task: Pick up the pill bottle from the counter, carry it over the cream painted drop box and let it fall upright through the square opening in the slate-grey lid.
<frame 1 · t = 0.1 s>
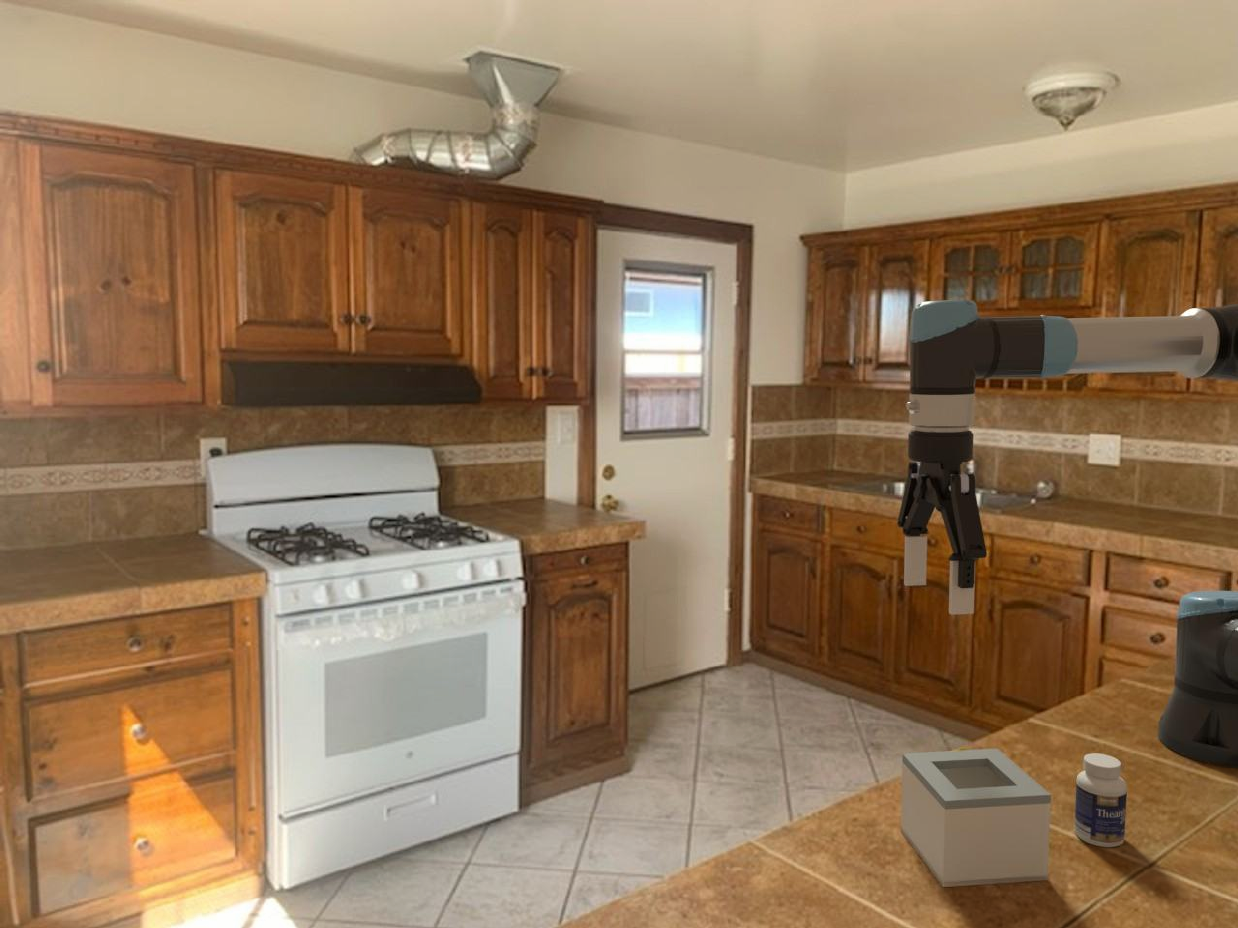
hand: (936, 598, 115), 28 cm above the countertop, fingers open, 13 cm apart
lemon: (961, 808, 119), on the countertop
pill bottle: (1098, 838, 111), on the countertop
drop box: (970, 854, 108), on the countertop
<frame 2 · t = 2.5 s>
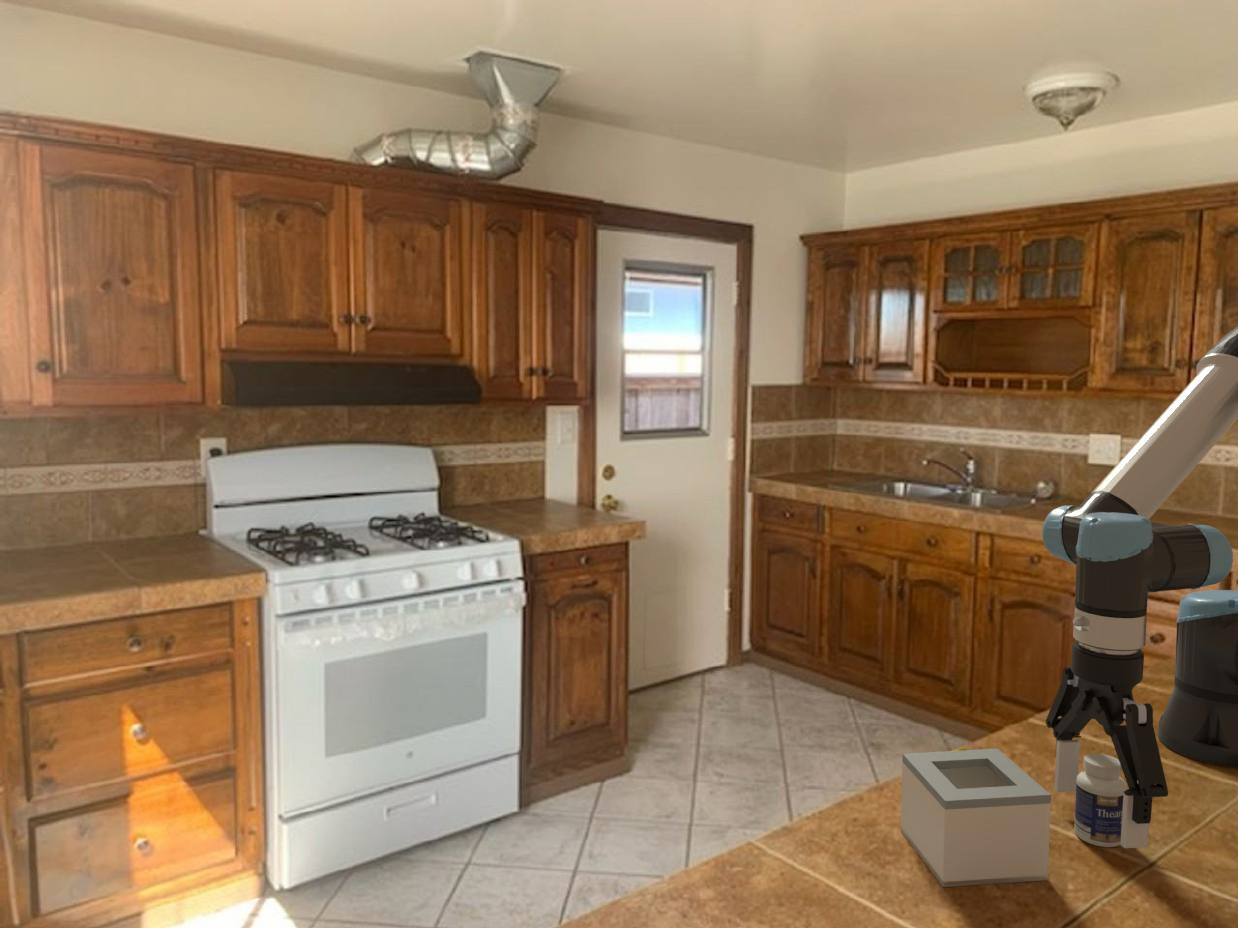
hand: (1097, 816, 111), 3 cm above the countertop, fingers open, 13 cm apart
nothing on the countertop moved.
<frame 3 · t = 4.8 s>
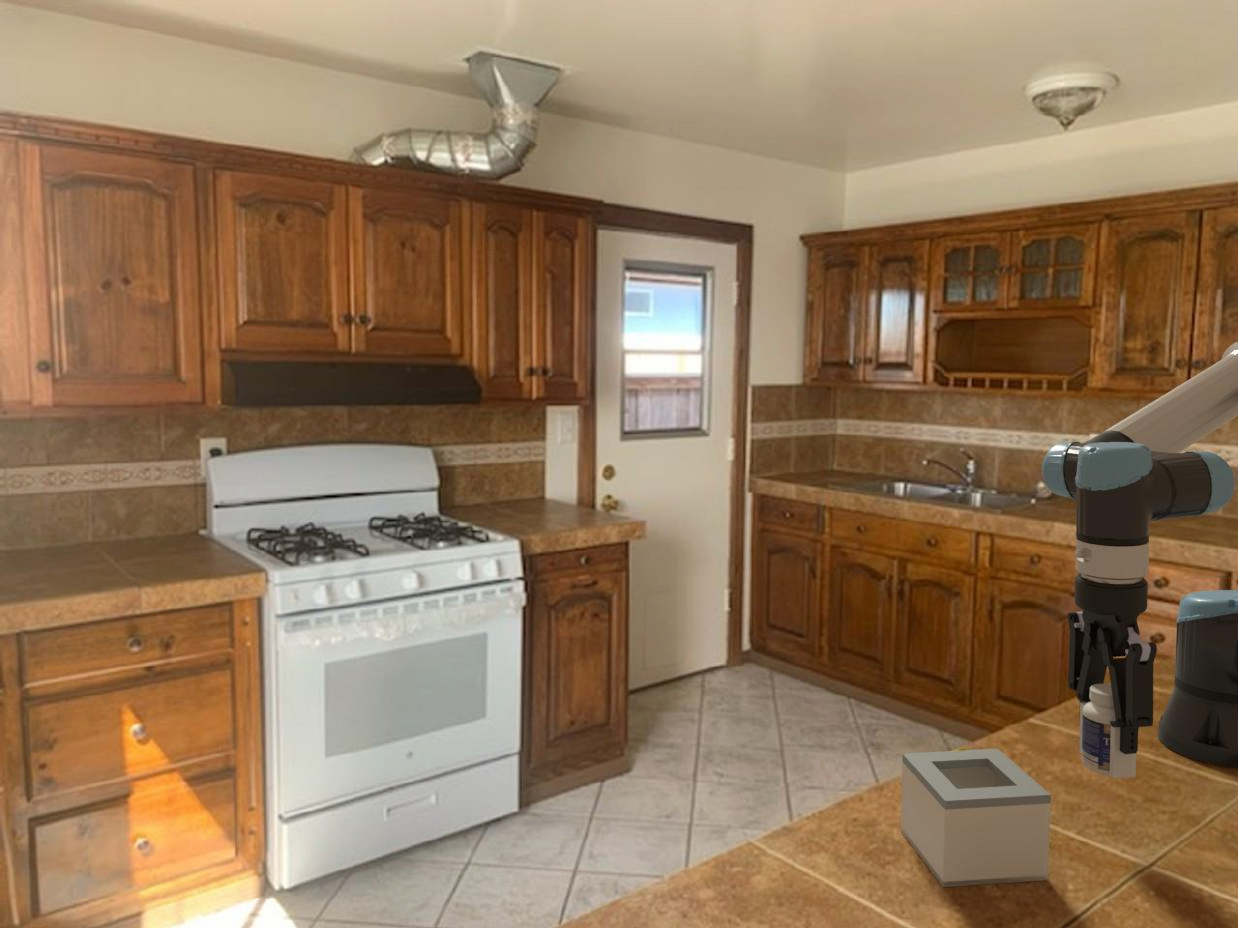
hand: (1106, 764, 110), 9 cm above the countertop, fingers closed on pill bottle, 5 cm apart
pill bottle: (1106, 768, 110), point 8 cm above the countertop, touching gripper
everything else where it was.
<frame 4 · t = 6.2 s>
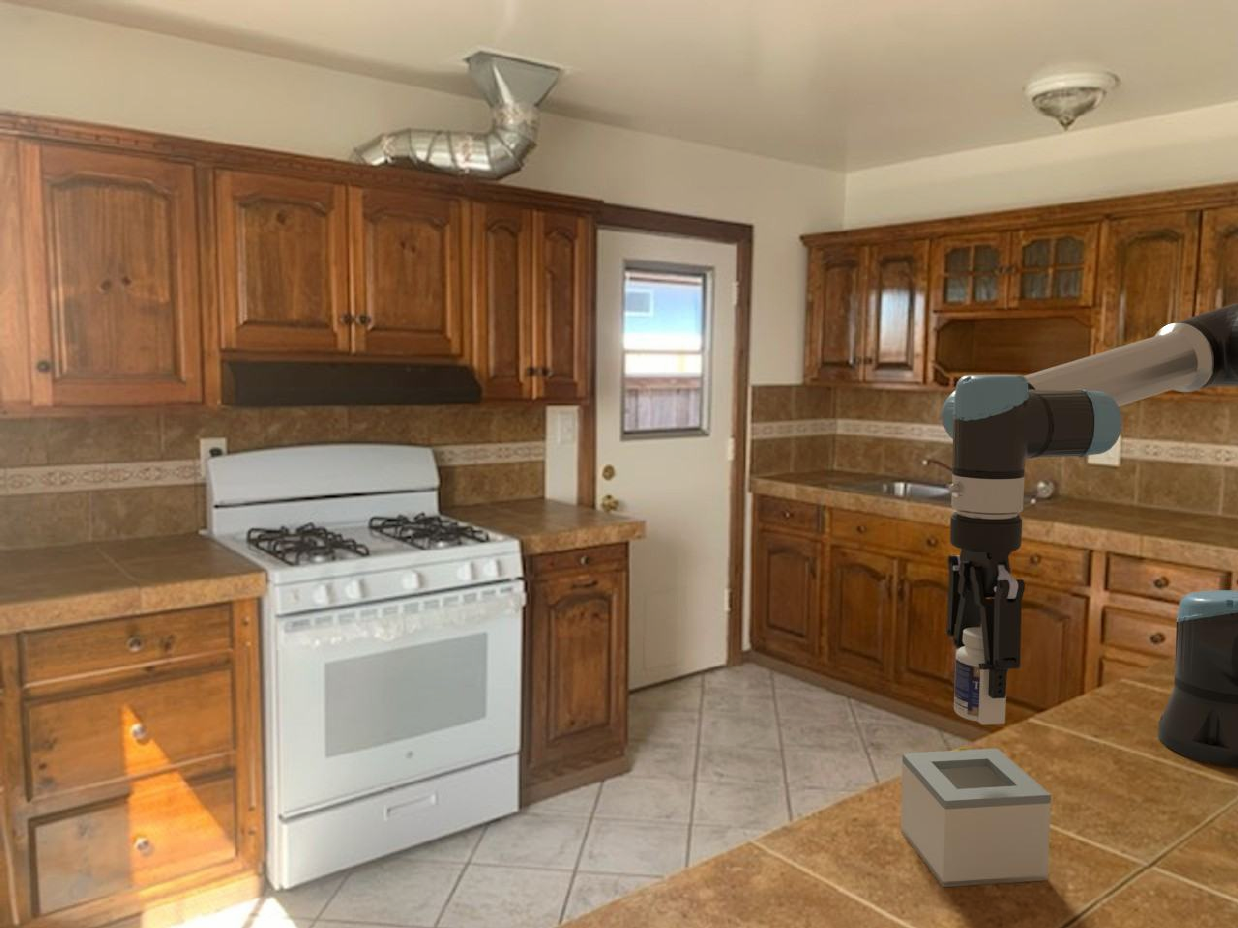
hand: (978, 711, 106), 17 cm above the countertop, fingers closed on pill bottle, 5 cm apart
pill bottle: (978, 716, 106), point 17 cm above the countertop, touching gripper
everything else where it was.
when the fingers open (11 cm above the countertop, at t = 7.8 s): pill bottle drops 10 cm, resting on drop box.
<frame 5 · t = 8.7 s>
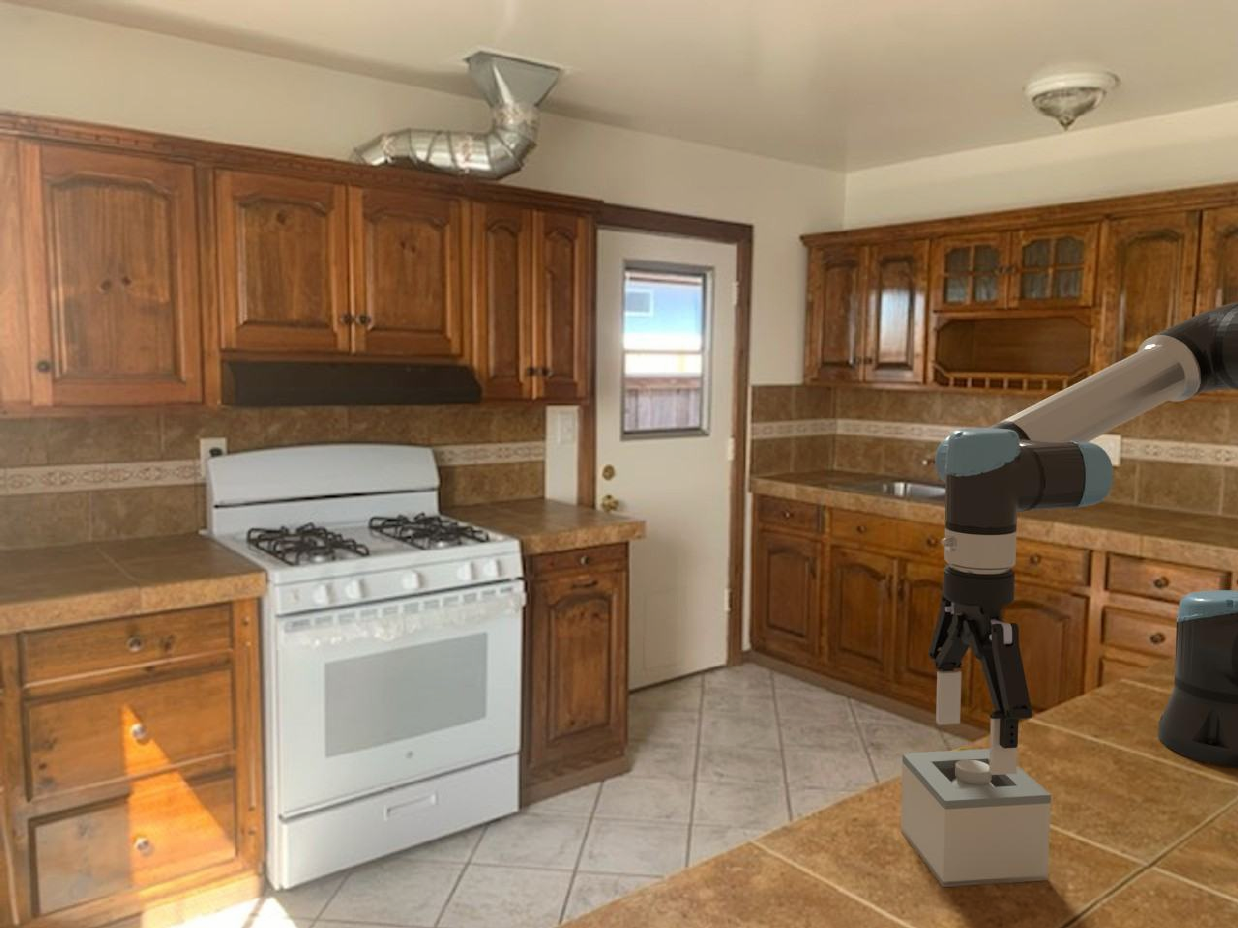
hand: (973, 746, 106), 13 cm above the countertop, fingers open, 13 cm apart
pill bottle: (972, 848, 108), point 1 cm above the countertop, touching drop box
everything else where it was.
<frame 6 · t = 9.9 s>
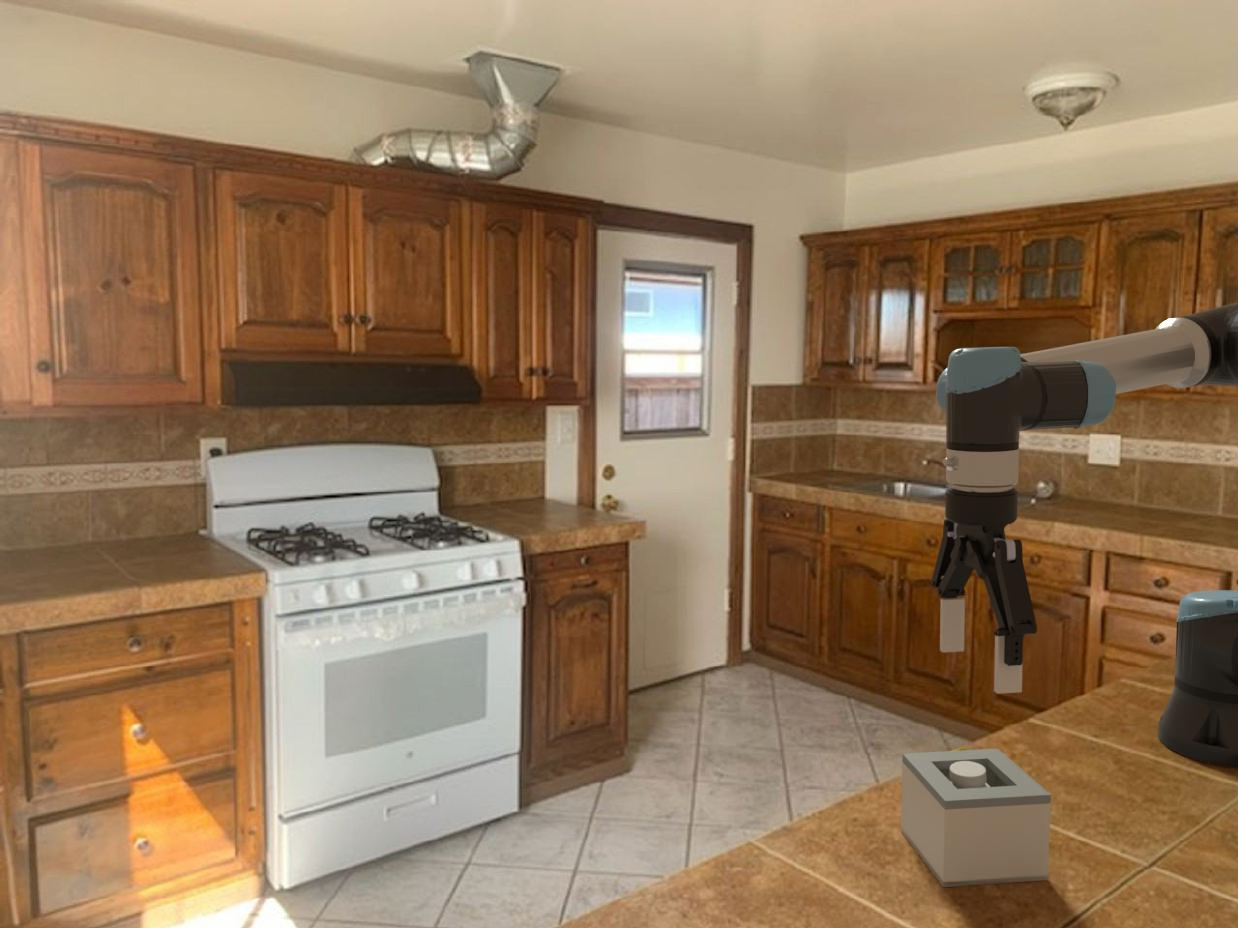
hand: (978, 670, 105), 22 cm above the countertop, fingers open, 13 cm apart
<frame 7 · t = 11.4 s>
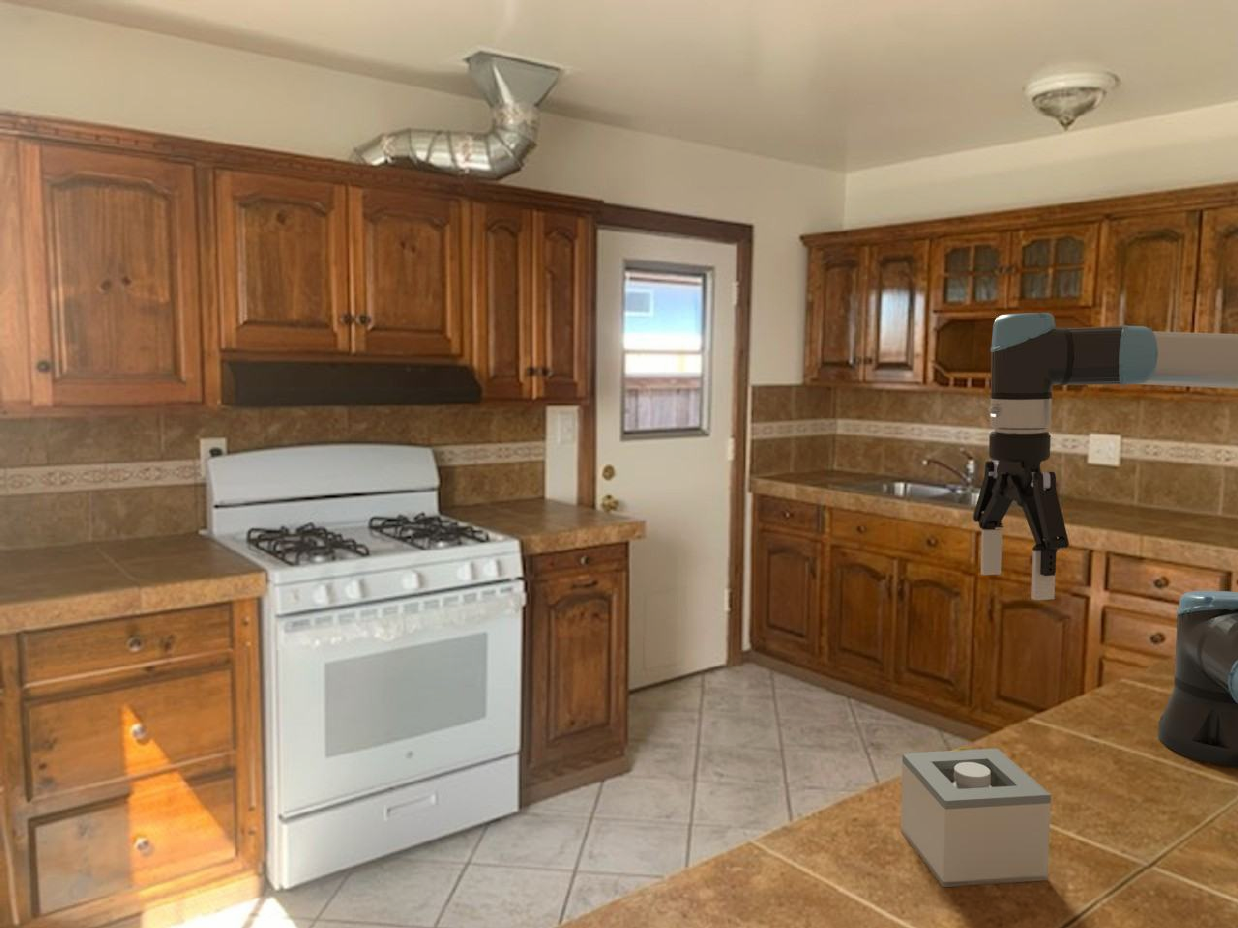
hand: (1015, 586, 125), 27 cm above the countertop, fingers open, 13 cm apart
nothing on the countertop moved.
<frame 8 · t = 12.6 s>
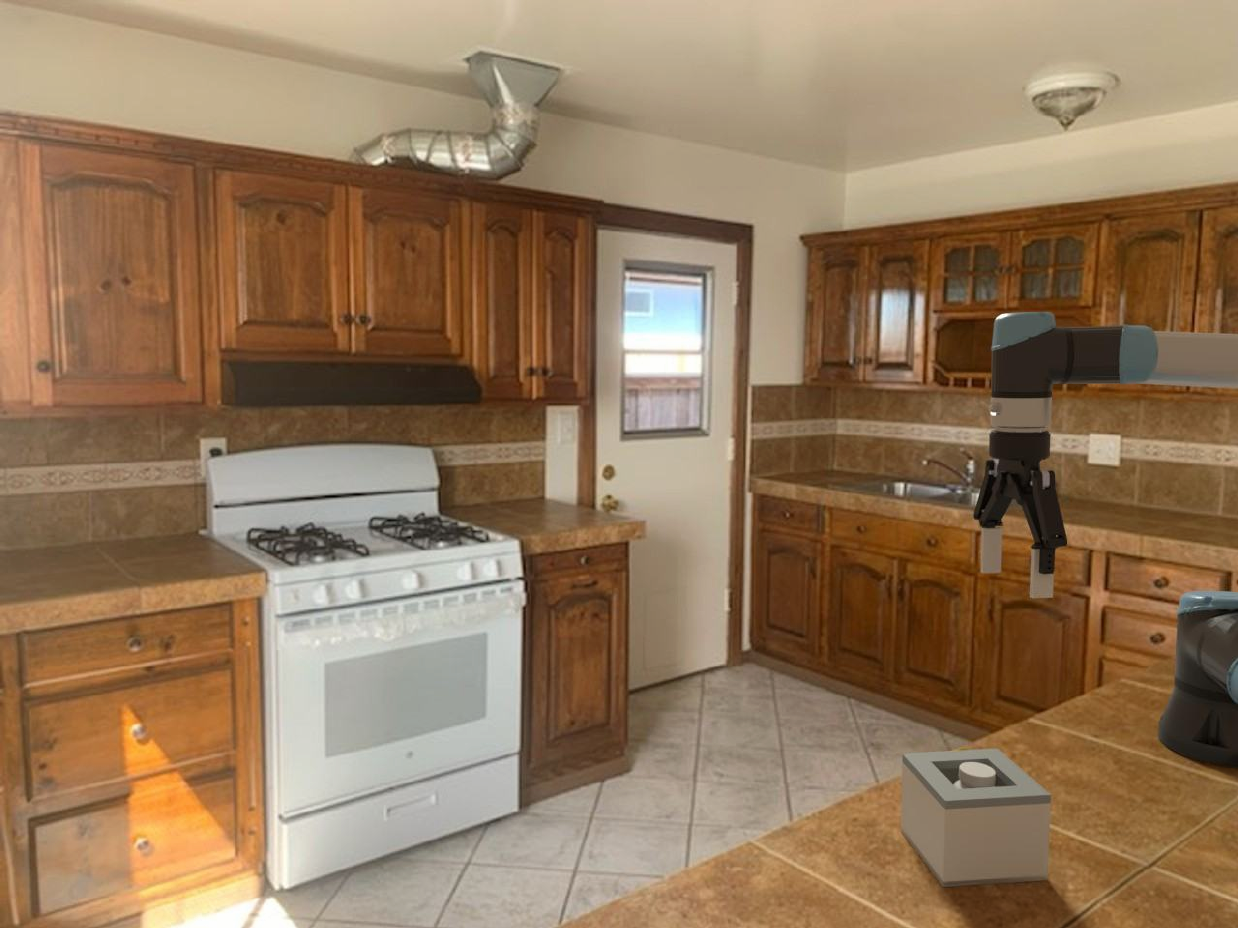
hand: (1014, 584, 125), 27 cm above the countertop, fingers open, 13 cm apart
nothing on the countertop moved.
at the end: pill bottle inside the target area on the drop box (0.2 cm from its centre), point 0.5 cm above the drop box's base; the gripper is holding nothing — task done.
